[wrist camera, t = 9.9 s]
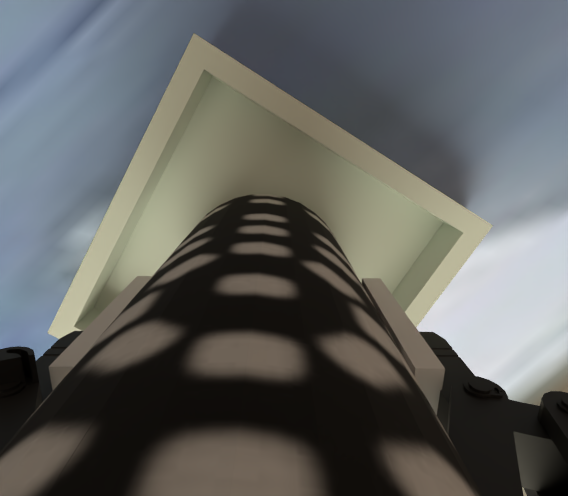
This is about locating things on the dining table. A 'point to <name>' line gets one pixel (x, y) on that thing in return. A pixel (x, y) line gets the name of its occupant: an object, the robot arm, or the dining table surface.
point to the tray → (266, 190)
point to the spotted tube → (241, 381)
